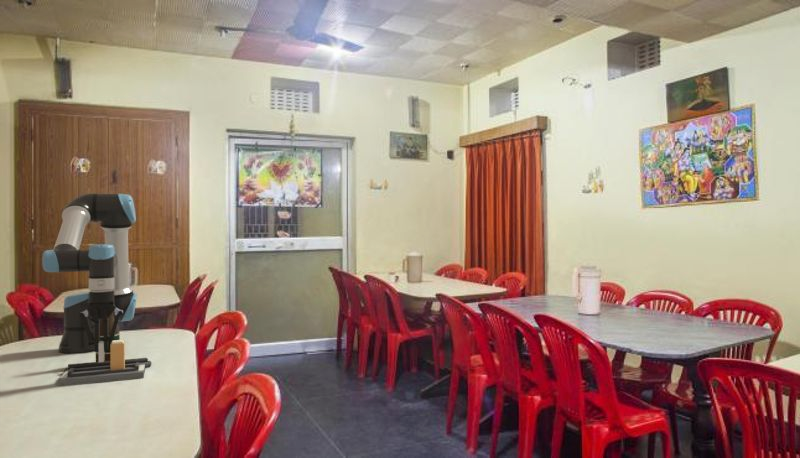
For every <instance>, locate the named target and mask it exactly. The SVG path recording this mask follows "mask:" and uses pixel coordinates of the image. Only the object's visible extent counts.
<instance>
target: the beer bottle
mask: <svg viewBox="0 0 800 458" xmlns="http://www.w3.org/2000/svg"><path fill="white" fill-rule="evenodd" d="M113 323H114V316H113V313H112V314H111V315H110V317H109V320H108V336H110V334H111V331H112V327H113ZM120 337H121V335H120V327H119V324H118V325H117V329H116V333H115V336H114V338H113V339H112V340H109V341H108V351H105V360H104V361H110V344H111V343H112V341H113V340H121V339H120ZM103 340H104V327H103V318H102V319H101V322H100V341H103ZM95 362H99V352H95Z"/></svg>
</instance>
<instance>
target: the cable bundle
mask: <svg viewBox="0 0 800 458" xmlns="http://www.w3.org/2000/svg"><path fill="white" fill-rule="evenodd" d="M136 362H139V364H145V368H150V367H152V361H151V360H149V359H148V357H141V358H140V357H138V358H128V359H126V358H125V365H128V364H136ZM105 366H110V361H104V362H96V361H94V362H93V361H91V362H80V363H79V362H78V363H68V365H67V367H65V368H64V369H63V374H64V373H65V372H66V371H68V370H70V368H74V369H82V368H93V367H105Z"/></svg>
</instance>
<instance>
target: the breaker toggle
mask: <svg viewBox="0 0 800 458" xmlns="http://www.w3.org/2000/svg"><path fill="white" fill-rule="evenodd" d="M125 360H126V341H124V339H120V340H113V341H112V343H111V344H110V370H119V369H125Z"/></svg>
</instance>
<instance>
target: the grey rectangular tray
mask: <svg viewBox="0 0 800 458" xmlns="http://www.w3.org/2000/svg"><path fill="white" fill-rule="evenodd" d="M145 372H146V367H145V364H139V362H136V364H128V365H125V369H119V370H110V366H105V367H93V368H82V369H74V368H70V370H68V371H66V372H65V373H64V372H63V374H62V376H61V377H60V378H59V384H58V385H59V387H63V386H64V387H65V386H74V385H82V384H83V385H85V384H96V383H103V382H104V383H105V382H114V381H125V380H137V379H144V377H145Z"/></svg>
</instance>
